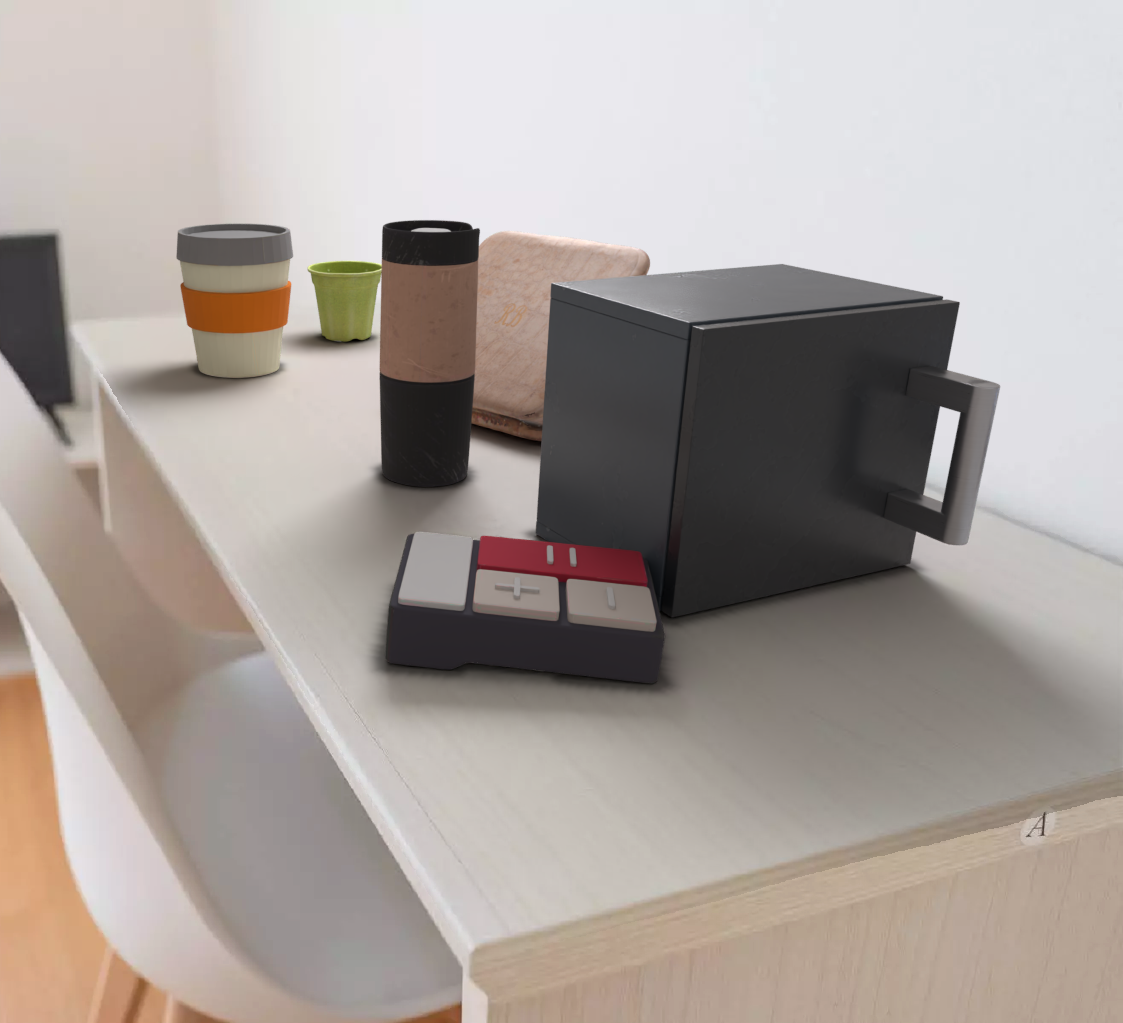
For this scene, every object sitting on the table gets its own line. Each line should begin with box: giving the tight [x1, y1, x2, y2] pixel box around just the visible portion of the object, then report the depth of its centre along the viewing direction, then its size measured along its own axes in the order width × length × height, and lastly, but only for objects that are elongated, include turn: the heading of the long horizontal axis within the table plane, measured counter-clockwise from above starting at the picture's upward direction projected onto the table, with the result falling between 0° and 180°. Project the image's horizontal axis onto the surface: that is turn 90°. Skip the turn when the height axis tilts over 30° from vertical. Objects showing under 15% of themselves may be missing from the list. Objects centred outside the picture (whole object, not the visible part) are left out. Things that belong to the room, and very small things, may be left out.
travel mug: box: [379, 219, 481, 488], centre depth 92 cm, size 8×8×20 cm
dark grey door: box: [661, 299, 1001, 618], centre depth 69 cm, size 6×20×18 cm, turn 114°
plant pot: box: [307, 260, 382, 343], centre depth 142 cm, size 9×9×9 cm
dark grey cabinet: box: [535, 263, 944, 612], centre depth 78 cm, size 14×20×18 cm
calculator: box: [384, 531, 666, 684], centre depth 68 cm, size 11×4×15 cm
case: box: [471, 230, 651, 442], centre depth 111 cm, size 20×21×16 cm
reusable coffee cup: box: [175, 223, 294, 379], centre depth 126 cm, size 13×12×15 cm
